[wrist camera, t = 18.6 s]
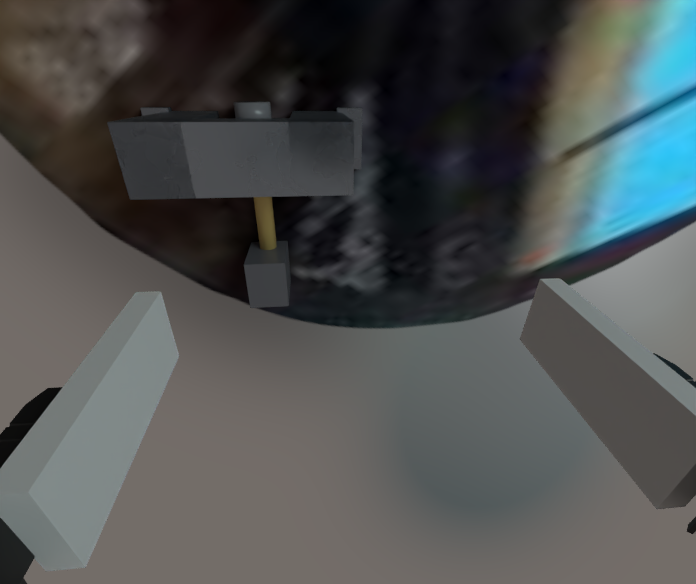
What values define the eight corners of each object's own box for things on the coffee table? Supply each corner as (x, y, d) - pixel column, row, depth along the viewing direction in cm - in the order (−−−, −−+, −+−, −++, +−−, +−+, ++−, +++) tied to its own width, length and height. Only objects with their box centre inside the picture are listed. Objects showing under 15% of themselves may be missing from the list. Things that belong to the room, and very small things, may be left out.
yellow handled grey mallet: (232, 101, 34) (219, 104, 29) (275, 101, 34) (270, 104, 29) (256, 281, 43) (250, 307, 38) (290, 279, 44) (288, 305, 38)
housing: (143, 107, 33) (70, 117, 23) (361, 107, 35) (384, 116, 25) (159, 170, 36) (100, 204, 26) (360, 167, 38) (380, 198, 28)
